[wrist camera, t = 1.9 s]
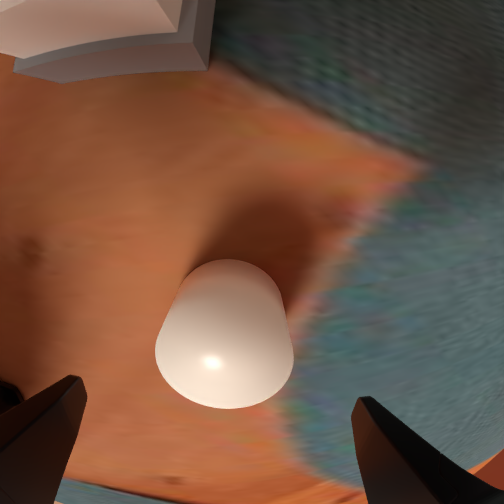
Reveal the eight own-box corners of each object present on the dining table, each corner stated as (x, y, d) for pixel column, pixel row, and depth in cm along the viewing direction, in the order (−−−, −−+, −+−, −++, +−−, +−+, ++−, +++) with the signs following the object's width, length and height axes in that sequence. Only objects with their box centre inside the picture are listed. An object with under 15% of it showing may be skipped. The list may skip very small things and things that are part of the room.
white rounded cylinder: (276, 353, 15) (283, 410, 12) (178, 347, 15) (162, 402, 11) (288, 262, 14) (303, 305, 10) (174, 255, 14) (149, 295, 10)
